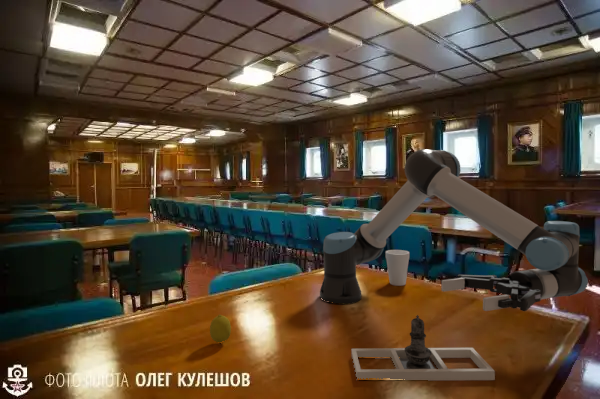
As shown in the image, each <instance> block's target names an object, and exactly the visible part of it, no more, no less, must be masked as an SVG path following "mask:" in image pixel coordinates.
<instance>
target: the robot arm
mask: <svg viewBox="0 0 600 399" xmlns="http://www.w3.org/2000/svg"><path fill="white" fill-rule="evenodd" d="M460 173H461V164H460V161H459V159H458V157H457V156H456V155H455V154H453V153H452V152H449V151H447V150H445V149H444V150H442V149H438V150H435V149H427V148H426V149H425V148H423V149H418V150H416V151H414V152H412V153H411V154H409V156H408V157H407V159H406V160H405V163H404V175H405V177H406V179H407V181H406V182H405V183H404V184H403V185H402V186H401V188H400V189H398V191H397V192H396V193H395V194H394V195H393V197H392V198H390V199H389V200H388V201H387V203H386V204H385V205H384V206H383V207H382V209H381V210H379V212H378V213H377V214H376V215H375V216H374V218H372V219H371V221H369V222H368V223H363V224H361V225H360V226H359V228H358V229H357V230H355V232H354V233H353V232H352V231H351V232H350V231H339V232H333V233H330V234H327V235H326V236H325V237H324V239H323V247H322V250H323V252H322V253H323V279H322V282H321V283H322V284H321V287H320V290H319V298H320V297H321V298H322V299H323V300H325V301H329V302H333V303H350V304H355V303H357V302H359V301H360V300H361V299H362V291H361V287H360V284H359V282H358V279H357V266H358V265H362V264H365V263H368V262H373V261H374V260H376V259H378V258H379V257H380V256H381V255H382V254H383V251H384V248H385V247H386V245H387V239H388V238H389V237H390V236H391V235H392V234H393V233H394V232H395V231H396V230H397V229H398V228H399V227H400V226H401V224H403V223H404V222H405V221H406V220H407V219H408V217H410V216H411V214H412V213H413V212H414V211H415V210H416V209H417V208H418V207H419V206H421V204H423V203H424V202H425V200H426V199H428V198H435V197H437V198H438V199H440V200H441V201H443V202H445V204H447V205H449V206H450V207H452V208H454V209H455V210H457V211H458V212H459V213H461V214H462V215H464V216H466V217H467V218H468V219H469V220H471V221H473V222H475V223H476V224H478V225H479V226H481V227H483V229H486V231H488V232H490V233H491V234H493V235H494V236H496V237H497V238H499V239H501V241H504V243H506V244H508V245H510V246H511V247H512V248H514V249H516V250H517V251H519V252H520V253H522V255H524V256H525V258H526V260H527V262H529V264H530V265H531V266H533V269H532V268H531V269H525V270H518V271H513V272H511V273H510V274H509V276H508V277H501V278H500V277H499V278H498V277H497V275H495V274H492V275H491V274H490V275H489V274H488V275H482V274H481V275H478V274H474V275H473V274H458V275H457V278H448V279H441V288H440V289H441V292H450V291H456V290H458V291H460V290H464V289H465V288H469V289H477V290H478V289H479V290H485V291H486V290H488V291H490V292H491V293H498V294H501V295H493V296H486V297H482V310H483V311H485V312H489V311H494V310H501V309H509V308H511V309H517V308H518V309H519V310H520V311H522V312H527V311H528V310H529V309H530V308H531V307H532V306H533V305H534V304H535V303H540V302H541V301H542V300H546V299H552V298H558V297H559V298H560V297H571V296H575V295H577V294H580V293H582V292H584V291H585V290H586V289H587V287H588V284H589V279H588V277H587V275H586V273H585V271H584V270H583V269H582V268H581V267H579V255H580V254H579V251H580V238H581V234H580V226H579V224H578V223H576V222H574V221H573V222H571V221H563V220H549V221H546V222H545V223H544V224H543V227H541V226H539V225H538V224H537V223H535V222H533V221H532V220H530V219H528V218H527V217H525V216H523V215H521V214H520V213H518V212H517V211H515V210H513V209H512V208H510V207H508V206H507V205H505V204H503V203H502V202H500V201H498V200H496V199H495V198H494V197H491V196H490V195H489V194H487V193H485V192H484V191H481V190H480V189H478V188H477V187H475V186H473V185H472V184H470V183H468V182H467V181H464V180H463V179H461V178H460V177H459V176H460ZM494 286H495V288H494ZM323 300H322V301H323ZM325 301H324V302H325ZM354 302H355V303H354Z"/></svg>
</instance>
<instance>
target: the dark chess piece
mask: <svg viewBox="0 0 600 399" xmlns="http://www.w3.org/2000/svg"><path fill="white" fill-rule="evenodd" d="M410 326H411V328H410V330H411V331H410V332H409V336H410V345H407V346H406V347H404V348H405V352H406V356H407V358H408V359H409V360H410V361H408V362H407V363H406V366H407V368H408V369H430V365H429V364H428V363H427V362H428V361H429V359H430V360H431V358H430V356H431V354H432V353H431V351H430V349H428V348H429V347H427V346H426V345H425V344H426V342H425V340H426V337H427V335H426V333H425V322H424V320H423V319H421V318H420V316H419V314H417V315H416V316H415V318H413V319H412V320H411V323H410Z"/></svg>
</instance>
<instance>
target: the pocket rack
mask: <svg viewBox="0 0 600 399" xmlns="http://www.w3.org/2000/svg"><path fill="white" fill-rule="evenodd" d="M405 348H406V347H397V348H394V347H393V348H392V347H390V348H389V347H385V348H382V347H381V348H380V347H379V348H377V347H375V348H371V347H370V348H351V350H350V351H351V360H352V359H353V361H352V364H353V363H354V365H353V369H354V368H355V370H354V373H355V372H356V374H355V378H356V377H357V379H358V378H359V379H360V378H361V379H363V378H364V379H366V378H368V379H369V378H376V379H377V378H379V379H380V378H381V379H383V378H390V379H403V380H404V379H405V380H428V381H495V380H496V379H495V378H496V377H495V376H496V371H495V370H494V368H493V367H492V366H491V365H490V364H489V363H488V362H487V361H486V360H485V359H484V358H483V357H482V355H481V354H480V353H478V352H477V351H476V350H475V348H474V347H427V348H428V349H430V351H431V353H432V354H431V356H430V359H429V361H428V362H427V363H428V364H429V365H430V369H408V368H407V366H406V363H407V362H408V361H410V360H409V359H408V358H407V356H406V352H405ZM358 357H391V358H392V359H391V358H390V359H391V362H392V361H393V362H392V364H393V363H394V364H393V366H394V365H395V366H394V368H390V369H389V368H384V369H383V368H380V369H379V368H377V369H370V368H369V369H368V368H367V369H363V368H362V367H361V365H360V360H359V359H358ZM399 357H400V358H399ZM456 358H457V359H462V358H464V359H471V360H472V362H473V363H474V364H475V366H477V367H478V368H448V366H447V365H446V364H445V363H444V361H443V360H442V359H456ZM433 362H434V363H433ZM435 365H436V366H435ZM395 367H396V368H395ZM437 368H438V369H437ZM357 379H356V380H357Z"/></svg>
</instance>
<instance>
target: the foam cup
mask: <svg viewBox="0 0 600 399" xmlns="http://www.w3.org/2000/svg"><path fill="white" fill-rule="evenodd" d="M409 260H410V251H408V250H404V249H403V250H402V249H388V250H385V261H386V267H387V272H388V280H389V284H390V285H392V286H396V287H398V286H399V287H400V286H401V287H402V286H405V285H406V284H407V277H408V276H407V275H408V268H409V263H410V262H409Z"/></svg>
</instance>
